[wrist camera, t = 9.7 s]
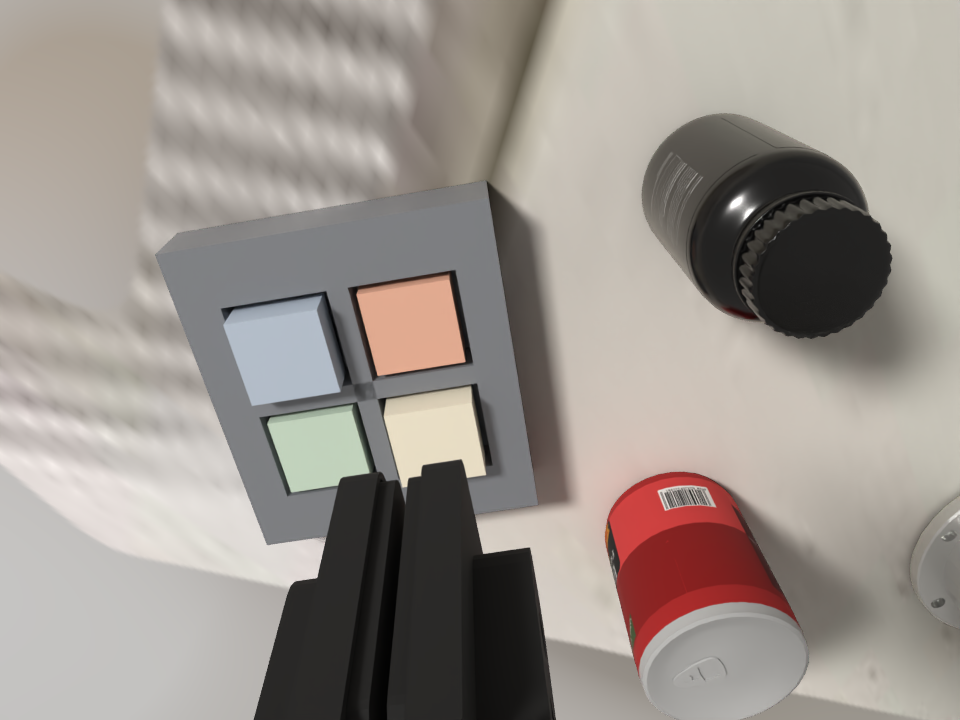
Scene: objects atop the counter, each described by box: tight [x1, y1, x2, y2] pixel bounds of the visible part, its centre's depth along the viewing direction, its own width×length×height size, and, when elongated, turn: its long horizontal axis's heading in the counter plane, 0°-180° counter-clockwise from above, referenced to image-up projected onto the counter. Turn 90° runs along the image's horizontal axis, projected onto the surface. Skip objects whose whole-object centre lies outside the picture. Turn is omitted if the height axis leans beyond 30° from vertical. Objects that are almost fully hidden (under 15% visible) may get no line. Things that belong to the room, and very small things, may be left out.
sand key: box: [384, 384, 486, 488], centre depth 38 cm, size 4×4×2 cm
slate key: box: [223, 293, 346, 406], centre depth 36 cm, size 4×4×2 cm
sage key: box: [267, 402, 374, 492], centre depth 39 cm, size 4×4×2 cm
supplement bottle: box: [642, 113, 892, 339], centre depth 31 cm, size 7×7×12 cm
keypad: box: [155, 181, 538, 545], centre depth 38 cm, size 17×15×3 cm
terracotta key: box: [357, 271, 465, 376], centre depth 36 cm, size 4×4×2 cm
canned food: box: [605, 472, 809, 720], centre depth 40 cm, size 8×8×11 cm
